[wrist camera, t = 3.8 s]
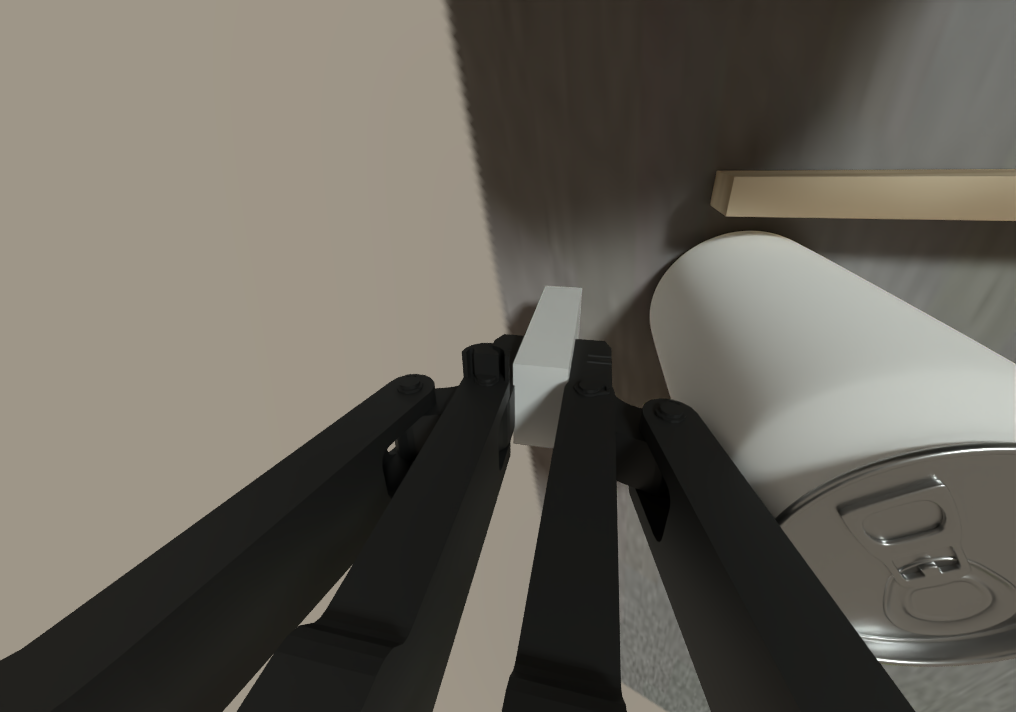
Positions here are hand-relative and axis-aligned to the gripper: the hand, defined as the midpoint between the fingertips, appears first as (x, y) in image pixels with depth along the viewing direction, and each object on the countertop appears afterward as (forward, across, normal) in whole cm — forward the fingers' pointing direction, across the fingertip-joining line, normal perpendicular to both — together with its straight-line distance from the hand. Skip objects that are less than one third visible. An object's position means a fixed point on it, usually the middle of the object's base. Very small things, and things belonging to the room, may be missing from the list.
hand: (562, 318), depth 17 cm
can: (+2, +7, 0) cm, 7 cm away
